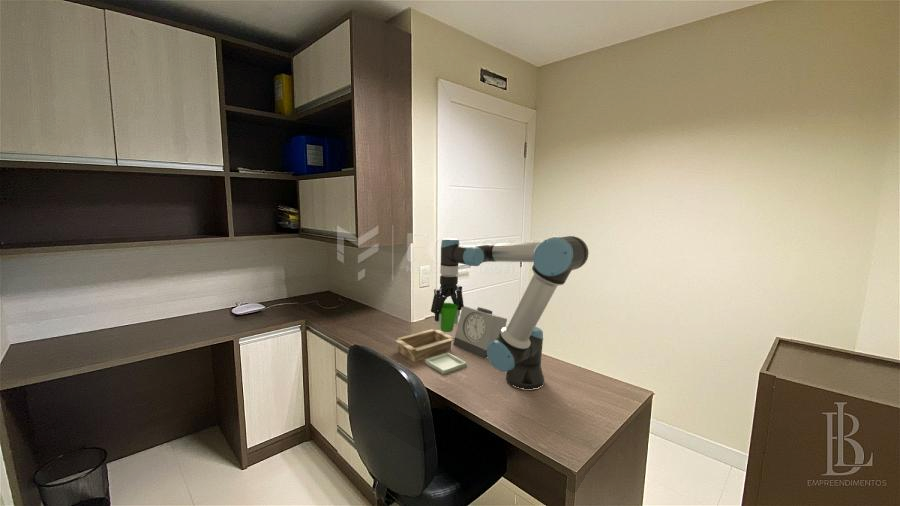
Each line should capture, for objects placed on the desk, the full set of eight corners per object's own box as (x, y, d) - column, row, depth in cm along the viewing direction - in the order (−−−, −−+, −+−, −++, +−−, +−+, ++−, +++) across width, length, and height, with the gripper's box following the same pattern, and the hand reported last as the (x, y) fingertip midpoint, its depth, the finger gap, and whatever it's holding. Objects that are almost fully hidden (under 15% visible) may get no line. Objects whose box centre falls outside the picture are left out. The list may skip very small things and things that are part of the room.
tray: (466, 366, 159) (466, 362, 159) (443, 374, 151) (443, 370, 151) (447, 355, 169) (447, 352, 169) (425, 363, 161) (425, 359, 161)
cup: (455, 335, 152) (456, 309, 151) (434, 332, 154) (434, 307, 153) (459, 327, 161) (460, 303, 159) (439, 325, 163) (439, 301, 161)
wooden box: (456, 350, 175) (457, 338, 174) (413, 364, 159) (413, 351, 158) (434, 339, 188) (435, 328, 187) (392, 351, 172) (392, 339, 171)
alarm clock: (453, 345, 182) (454, 306, 179) (474, 337, 193) (476, 300, 190) (484, 359, 167) (486, 316, 164) (505, 350, 178) (507, 310, 175)
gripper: (462, 270, 164) (460, 318, 167) (422, 276, 150) (421, 328, 153) (473, 273, 158) (471, 323, 161) (433, 279, 144) (432, 333, 148)
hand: (447, 325), depth 157 cm, fingers closed on cup, 9 cm apart
